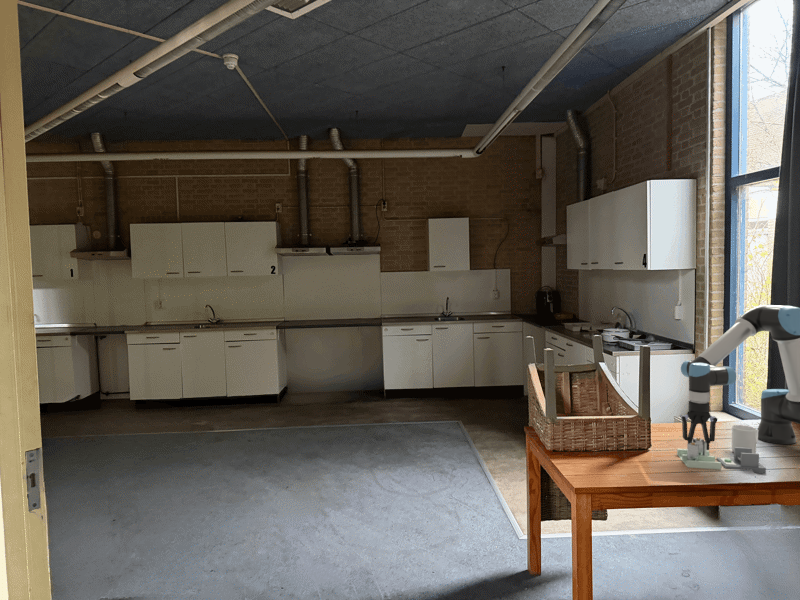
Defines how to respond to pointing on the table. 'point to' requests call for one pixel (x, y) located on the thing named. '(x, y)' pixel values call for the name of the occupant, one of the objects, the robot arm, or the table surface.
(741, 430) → the mug
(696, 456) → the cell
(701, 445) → the cell
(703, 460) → the tray
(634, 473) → the table surface
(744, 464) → the grey mounting bracket
